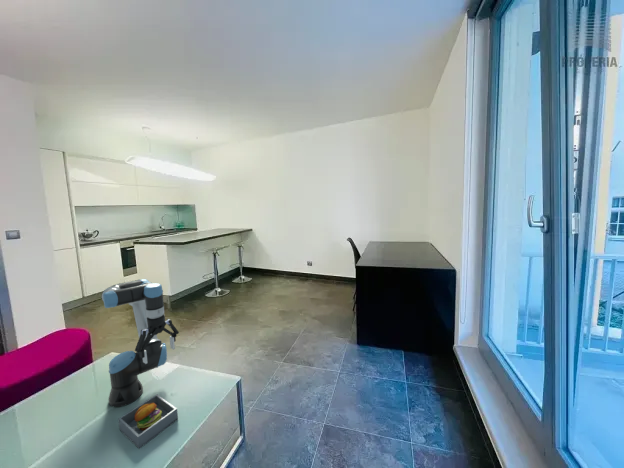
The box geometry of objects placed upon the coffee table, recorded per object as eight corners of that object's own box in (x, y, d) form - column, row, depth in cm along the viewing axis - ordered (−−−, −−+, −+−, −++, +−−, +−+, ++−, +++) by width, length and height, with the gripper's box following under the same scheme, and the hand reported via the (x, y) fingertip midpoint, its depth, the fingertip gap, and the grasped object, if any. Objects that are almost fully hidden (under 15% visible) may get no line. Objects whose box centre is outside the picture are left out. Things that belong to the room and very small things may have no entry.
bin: (119, 430, 122) (118, 418, 121) (158, 404, 137) (156, 394, 136) (139, 449, 113) (137, 437, 112) (178, 419, 128) (177, 408, 127)
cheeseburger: (151, 434, 118) (144, 415, 117) (132, 435, 121) (126, 416, 120) (168, 416, 128) (161, 398, 127) (150, 416, 131) (144, 399, 130)
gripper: (131, 328, 116) (136, 372, 119) (184, 307, 137) (187, 345, 140) (123, 324, 120) (128, 366, 123) (175, 304, 141) (178, 341, 144)
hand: (159, 355), depth 132 cm, fingers open, 13 cm apart
